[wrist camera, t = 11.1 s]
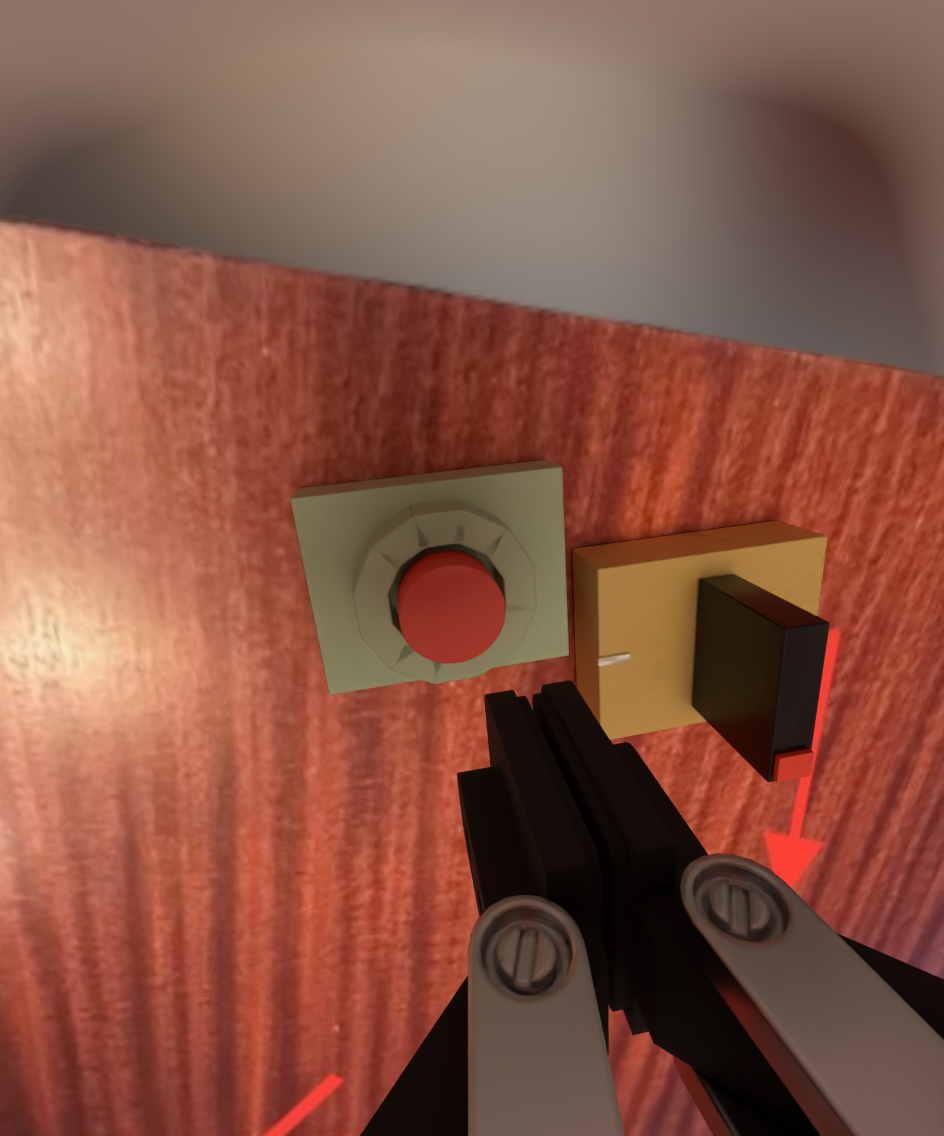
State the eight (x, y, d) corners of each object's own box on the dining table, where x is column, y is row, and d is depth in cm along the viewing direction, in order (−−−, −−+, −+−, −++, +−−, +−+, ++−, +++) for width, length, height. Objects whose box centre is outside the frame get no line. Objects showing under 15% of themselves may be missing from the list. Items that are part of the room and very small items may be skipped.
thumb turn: (698, 578, 22) (791, 632, 17) (734, 573, 22) (836, 625, 17) (691, 706, 24) (772, 788, 19) (724, 700, 24) (813, 780, 19)
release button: (491, 543, 20) (501, 557, 18) (498, 634, 21) (509, 655, 19) (390, 556, 19) (392, 572, 17) (403, 649, 20) (406, 671, 19)
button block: (545, 459, 23) (579, 472, 19) (553, 634, 25) (584, 676, 21) (297, 487, 21) (281, 508, 18) (333, 669, 24) (325, 721, 20)
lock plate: (780, 519, 25) (833, 536, 22) (765, 671, 28) (812, 704, 25) (569, 548, 24) (596, 571, 21) (574, 705, 27) (599, 744, 24)
